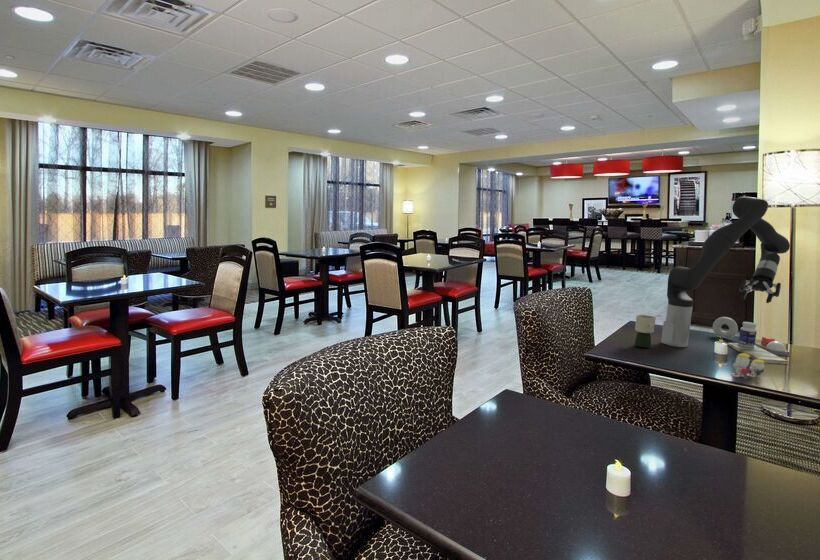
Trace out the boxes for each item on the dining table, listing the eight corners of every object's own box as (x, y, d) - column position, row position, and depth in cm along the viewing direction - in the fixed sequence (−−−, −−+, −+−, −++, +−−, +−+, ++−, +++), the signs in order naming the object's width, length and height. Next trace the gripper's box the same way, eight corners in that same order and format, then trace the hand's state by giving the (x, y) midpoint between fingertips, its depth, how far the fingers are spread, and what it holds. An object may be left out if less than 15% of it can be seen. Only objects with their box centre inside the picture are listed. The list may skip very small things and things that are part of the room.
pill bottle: (749, 348, 199) (753, 325, 198) (734, 344, 204) (738, 321, 203) (757, 347, 202) (760, 323, 200) (742, 343, 207) (746, 320, 205)
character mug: (657, 351, 194) (661, 319, 192) (640, 350, 194) (643, 319, 192) (644, 343, 205) (648, 313, 203) (627, 343, 205) (631, 313, 203)
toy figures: (755, 374, 171) (759, 351, 170) (766, 378, 167) (770, 355, 165) (725, 374, 169) (728, 351, 168) (735, 378, 165) (738, 355, 164)
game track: (787, 364, 184) (788, 360, 184) (759, 362, 185) (760, 359, 185) (752, 346, 207) (752, 344, 206) (727, 345, 208) (727, 342, 207)
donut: (737, 340, 216) (740, 319, 215) (734, 341, 214) (738, 319, 213) (712, 335, 224) (715, 314, 222) (709, 336, 222) (712, 315, 220)
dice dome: (789, 359, 196) (791, 344, 195) (770, 358, 196) (773, 343, 195) (770, 350, 207) (772, 336, 206) (753, 349, 208) (755, 335, 207)
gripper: (745, 264, 216) (735, 292, 210) (785, 269, 206) (775, 297, 200) (746, 275, 221) (736, 302, 214) (785, 280, 211) (775, 308, 204)
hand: (755, 300), depth 207 cm, fingers open, 8 cm apart
